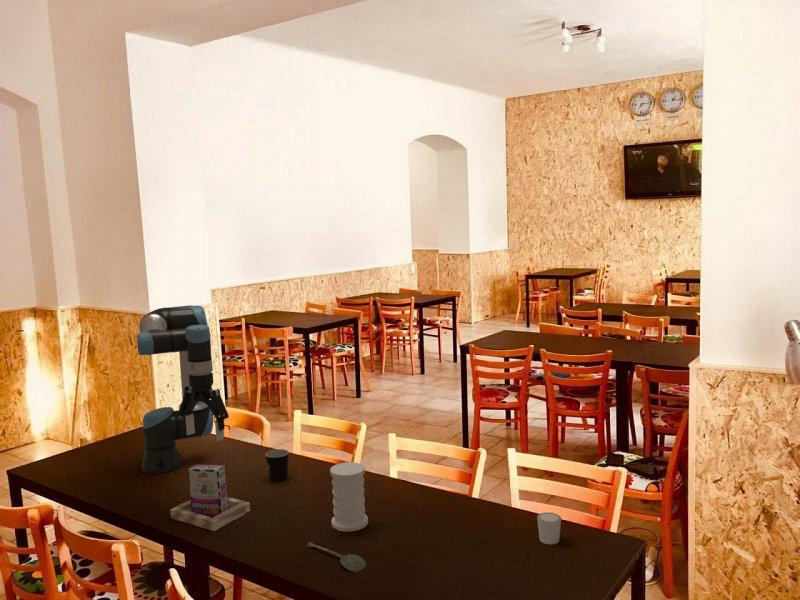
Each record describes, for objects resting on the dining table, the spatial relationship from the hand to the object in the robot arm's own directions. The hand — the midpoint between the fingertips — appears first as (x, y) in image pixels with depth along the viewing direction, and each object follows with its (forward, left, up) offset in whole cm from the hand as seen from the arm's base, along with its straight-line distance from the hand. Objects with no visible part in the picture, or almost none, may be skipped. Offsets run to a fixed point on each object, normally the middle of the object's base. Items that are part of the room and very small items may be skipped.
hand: (205, 436), depth 215 cm
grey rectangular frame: (0, 0, -27) cm, 27 cm away
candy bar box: (0, 0, -27) cm, 27 cm away
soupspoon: (+54, -3, -27) cm, 60 cm away
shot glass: (+104, +34, -27) cm, 113 cm away
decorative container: (+45, +16, -27) cm, 55 cm away
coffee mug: (-1, +35, -27) cm, 44 cm away
